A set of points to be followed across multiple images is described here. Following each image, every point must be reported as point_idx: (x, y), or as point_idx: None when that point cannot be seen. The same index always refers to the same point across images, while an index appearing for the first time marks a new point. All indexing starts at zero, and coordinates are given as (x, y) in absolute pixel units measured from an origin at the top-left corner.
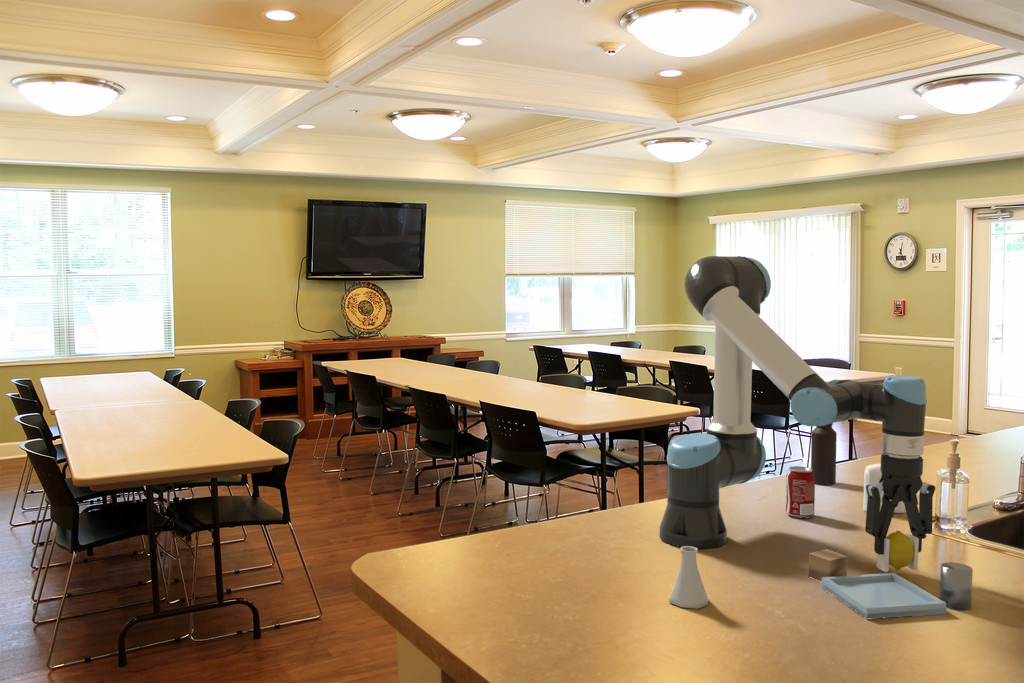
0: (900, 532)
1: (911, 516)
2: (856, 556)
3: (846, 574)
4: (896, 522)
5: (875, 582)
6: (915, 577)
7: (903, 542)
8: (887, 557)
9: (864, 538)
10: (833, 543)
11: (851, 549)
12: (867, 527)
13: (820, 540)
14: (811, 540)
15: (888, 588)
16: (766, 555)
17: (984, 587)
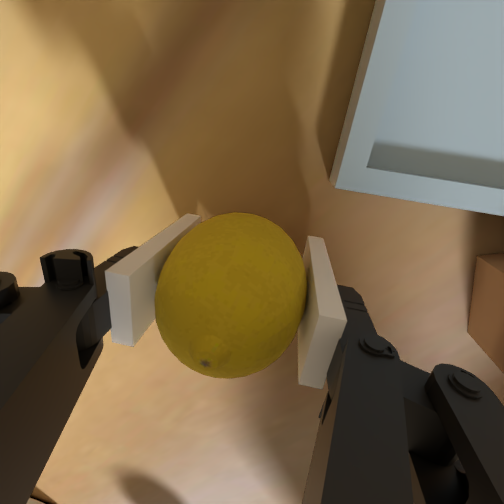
0: (203, 346)
1: (3, 460)
2: (255, 383)
3: (497, 267)
4: None
5: (458, 163)
6: (208, 200)
7: (239, 265)
8: (319, 261)
9: (150, 442)
10: (244, 451)
11: (230, 415)
12: (462, 472)
13: (259, 471)
14: (280, 478)
15: (482, 71)
16: None
17: (16, 18)
